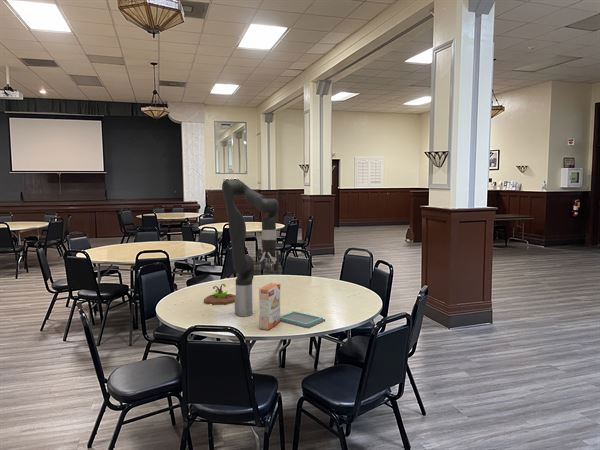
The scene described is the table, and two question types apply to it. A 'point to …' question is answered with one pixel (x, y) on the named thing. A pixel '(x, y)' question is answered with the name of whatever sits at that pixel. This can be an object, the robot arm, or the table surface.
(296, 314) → the baseplate
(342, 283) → the table surface
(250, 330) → the table surface
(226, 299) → the plant
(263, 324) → the cracker box
